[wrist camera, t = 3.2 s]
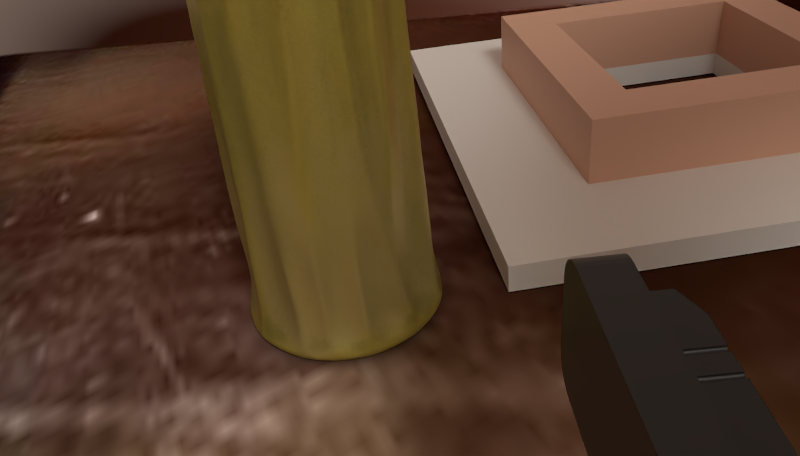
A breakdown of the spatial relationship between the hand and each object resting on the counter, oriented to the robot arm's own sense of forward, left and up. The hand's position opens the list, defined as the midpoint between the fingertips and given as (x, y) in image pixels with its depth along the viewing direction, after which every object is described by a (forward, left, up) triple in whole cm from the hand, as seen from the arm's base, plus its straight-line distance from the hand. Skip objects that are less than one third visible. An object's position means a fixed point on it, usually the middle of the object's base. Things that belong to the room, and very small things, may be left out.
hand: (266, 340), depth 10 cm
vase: (-1, -11, -8) cm, 14 cm away
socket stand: (-16, -20, -8) cm, 27 cm away
